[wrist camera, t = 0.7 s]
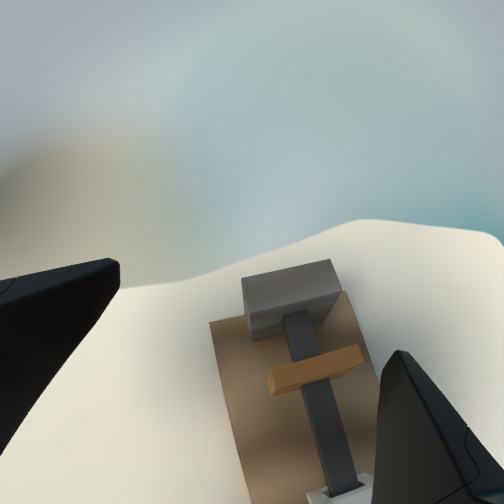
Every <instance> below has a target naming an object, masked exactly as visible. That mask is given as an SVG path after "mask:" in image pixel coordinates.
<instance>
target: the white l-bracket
mask: <svg viewBox="0 0 504 504" xmlns="http://www.w3.org/2000/svg"><path fill="white" fill-rule="evenodd" d="M357 478H358V482H359V486H360V488H358V489H355V490H353V491H350V492H347V493H344V494H342V495H339V496H336V497H333V498H330V495H329V491H328V487H324V488H321V489H317V490H314V491H311V492H307V493H306V496H307V500H308V503H309V504H371V499H372V490H373V479H374V476H372V475H369V474H367V473H362V474H360V475H357Z"/></svg>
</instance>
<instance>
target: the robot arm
mask: <svg viewBox="0 0 504 504" xmlns="http://www.w3.org/2000/svg"><path fill="white" fill-rule="evenodd" d="M119 287H120V264H119V262H118V261H116V260H113V259H110V258H105V259H100V260H95V261H90V262H85V263H80V264H75V265H70V266H66V267H61V268H56V269H52V270H47V271H42V272H37V273H33V274H28V275H24V276H19V277H17V278H10V279H5V280H1V281H0V456H1V454H2V453H3V451H4V449H5V448H6V446H7V445H8V443H9V441H10V440H11V438H12V437H13V435H14V434H15V432H16V431H17V429H18V428H19V426H20V425H21V423H22V422H23V420H24V419H25V417H26V416H27V414H28V412H29V411H30V410H31V408H32V407H33V405H34V404H35V403H36V401H37V400H38V398H39V397H40V395H41V394H42V393H43V391H44V390H45V389H46V387H47V386H48V384H49V383H50V382H51V380H52V379H53V378H54V376H55V375H56V374H57V372H58V371H59V370H60V368H61V367H62V366H63V364H64V363H65V362H66V360H67V359H68V358H69V357H70V355H71V354H72V353H73V351H74V350H75V349H76V348H77V346H78V345H79V344H80V342H81V341H82V340H83V339H84V337H85V336H86V335H87V334H88V332H89V331H90V330H91V329H92V328H93V326H94V325H95V324H96V322H97V321H98V319H99V318H100V317H101V315H102V313H103V312H104V310H105V309H106V307H107V306H108V304H109V303H110V301H111V300H112V298H113V297H114V295H115V294H116V293H117V291H118V289H119ZM371 504H504V470H503V468H502V467H501V466H500V465H499V464H498V463H497V461H496V460H495V459H494V458H493V457H492V456H491V454H490V453H489V452H488V451H487V450H486V448H485V447H484V446H483V445H482V444H481V442H480V441H479V440H478V438H477V437H476V436H475V435H474V433H473V432H472V431H471V429H470V428H469V427H467V424H466V423H465V421H464V420H463V419H462V418H461V416H460V415H459V414H458V412H457V411H456V410H455V409H454V407H453V406H452V405H451V403H450V402H449V401H448V400H447V398H446V397H445V396H444V395H443V393H442V392H441V391H440V390H439V388H438V387H437V386H436V385H435V384H434V382H433V381H432V380H431V379H430V377H429V376H428V375H427V374H426V373H425V371H424V370H423V369H422V368H421V367H420V365H419V364H418V363H417V362H416V361H415V359H414V358H413V357H412V356H411V355H410V354H409V353H408V352H406V351H402V350H396V351H395V352H394V353H393V354H392V356H391V357H390V359H389V361H388V362H387V363H386V365H385V366H384V368H383V370H382V374H381V384H380V394H379V402H378V411H377V429H376V452H375V467H374V479H373V490H372V499H371Z"/></svg>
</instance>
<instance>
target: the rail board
mask: <svg viewBox="0 0 504 504" xmlns="http://www.w3.org/2000/svg"><path fill="white" fill-rule="evenodd" d="M241 282H242V292H243V301H244V311H245V315H243V316H238V317H234V318H229V319H224V320H219V321H214V322H209V323H210V329H211V334H212V339H213V344H214V349H215V354H216V359H217V364H218V369H219V373H220V378H221V383H222V387H223V392H224V396H225V401H226V405H227V409H228V414H229V418H230V422H231V426H232V430H233V435H234V439H235V443H236V447H237V450H238V454H239V458H240V462H241V466H242V470H243V473H244V477H245V481H246V484H247V488H248V491H249V495H250V498H251V502H252V504H309V503H308V500H307V496H306V493H307V492H311V491H314V490H317V489H321V488H324V487H328V491H329V495H330V498H333V497H336V496H339V495H342V494H344V493H347V492H350V491H353V490H355V489H358V488H360V486H359V482H358V478H357V475H360V474H362V473H367V474H369V475H372V476H374V467H375V452H376V429H377V411H378V402H379V394H380V386H379V383H378V380H377V377H376V374H375V371H374V368H373V365H372V362H371V359H370V356H369V353H368V350H367V347H366V344H365V342H364V339H363V336H362V333H361V331H360V328H359V325H358V322H357V320H356V317H355V314H354V312H353V309H352V306H351V304H350V301H349V299H348V296H347V293H346V291H343V290H342V288H341V285H340V283H339V280H338V277H337V275H336V273H335V270H334V268H333V265H332V263H331V260H330V259H327V260H322V261H318V262H314V263H309V264H305V265H300V266H296V267H291V268H287V269H282V270H277V271H273V272H268V273H264V274H259V275H254V276H250V277H245V278H241Z"/></svg>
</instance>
